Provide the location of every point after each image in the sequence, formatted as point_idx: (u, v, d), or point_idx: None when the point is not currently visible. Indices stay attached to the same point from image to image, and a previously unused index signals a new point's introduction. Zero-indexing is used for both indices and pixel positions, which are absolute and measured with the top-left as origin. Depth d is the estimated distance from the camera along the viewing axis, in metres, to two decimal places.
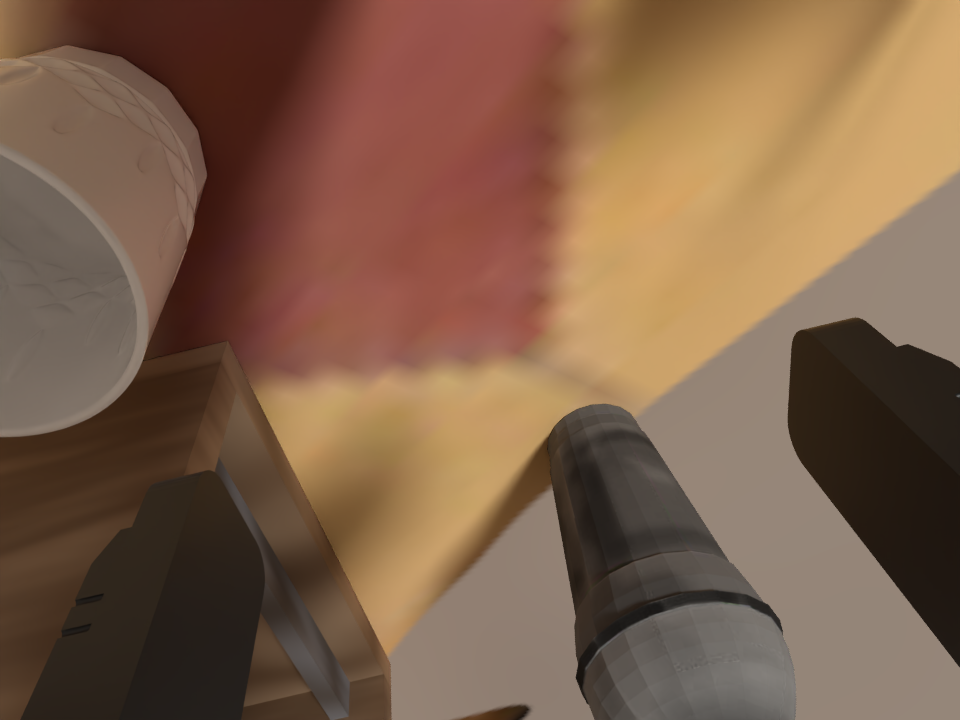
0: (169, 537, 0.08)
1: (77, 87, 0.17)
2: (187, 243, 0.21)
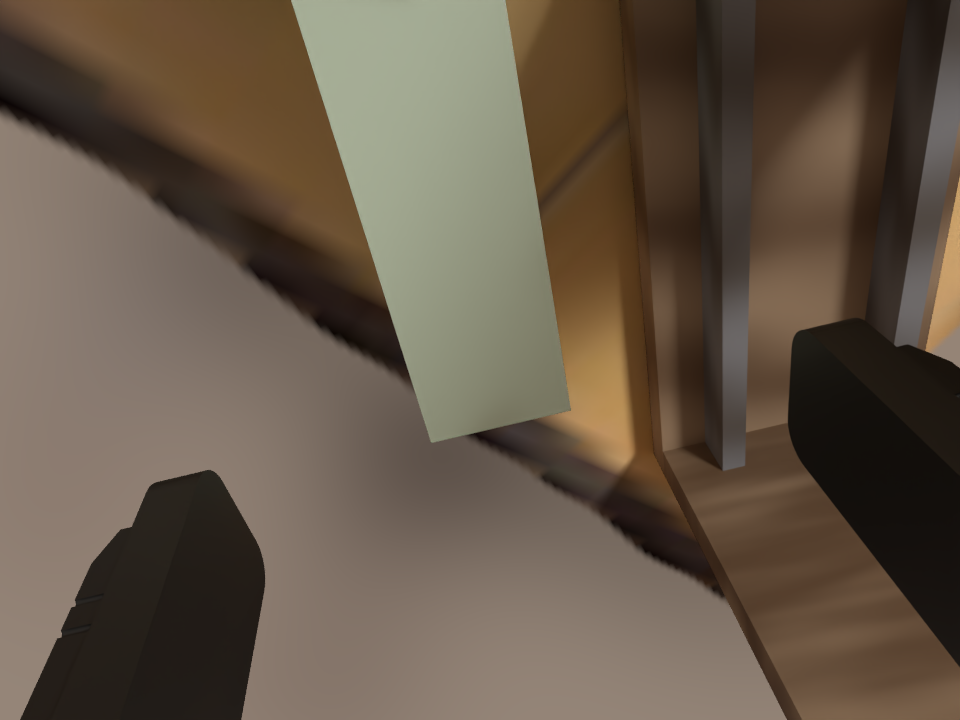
0: (169, 537, 0.08)
1: None
2: None
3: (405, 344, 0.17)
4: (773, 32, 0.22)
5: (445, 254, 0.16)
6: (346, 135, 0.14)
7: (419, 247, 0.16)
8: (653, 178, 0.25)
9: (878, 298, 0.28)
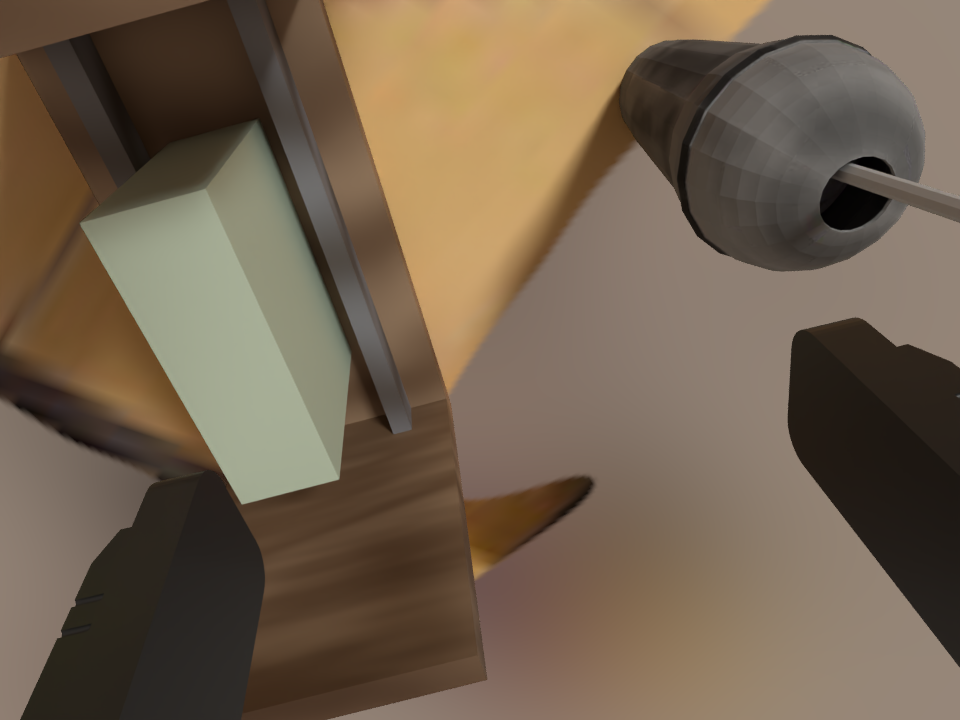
0: (169, 537, 0.08)
1: None
2: None
3: (208, 440, 0.25)
4: (172, 121, 0.29)
5: (223, 382, 0.24)
6: (141, 316, 0.23)
7: (204, 379, 0.24)
8: None
9: None
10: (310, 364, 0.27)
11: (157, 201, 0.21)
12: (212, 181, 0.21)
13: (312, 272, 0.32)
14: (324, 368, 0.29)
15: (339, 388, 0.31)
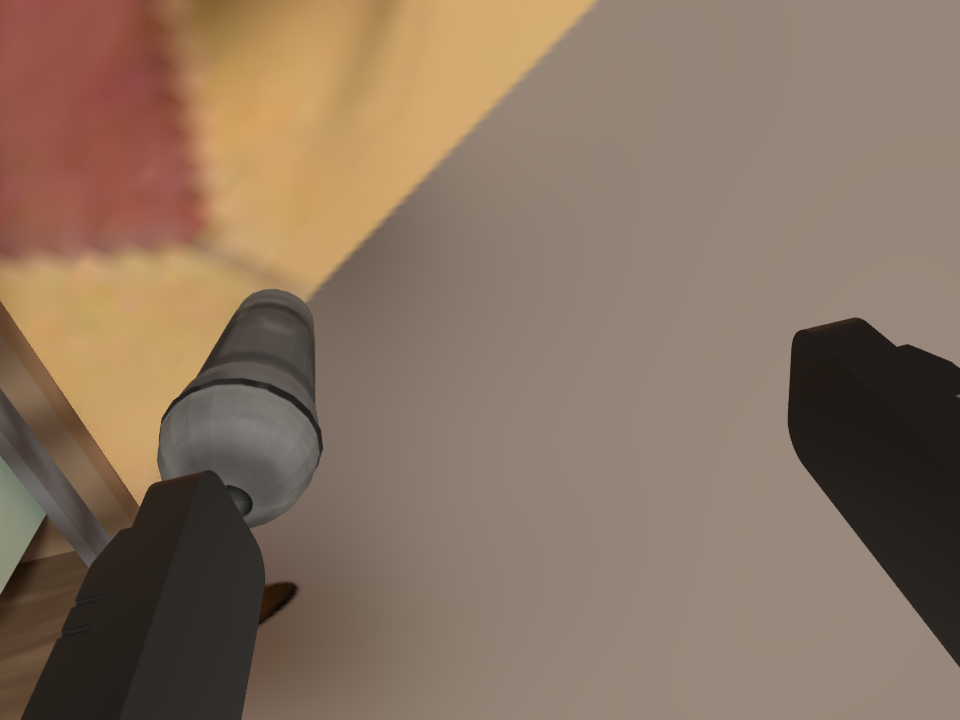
0: (169, 537, 0.08)
1: None
2: None
3: None
4: None
5: None
6: None
7: None
8: None
9: None
10: None
11: None
12: None
13: None
14: None
15: (9, 551, 0.40)
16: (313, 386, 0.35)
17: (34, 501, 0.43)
